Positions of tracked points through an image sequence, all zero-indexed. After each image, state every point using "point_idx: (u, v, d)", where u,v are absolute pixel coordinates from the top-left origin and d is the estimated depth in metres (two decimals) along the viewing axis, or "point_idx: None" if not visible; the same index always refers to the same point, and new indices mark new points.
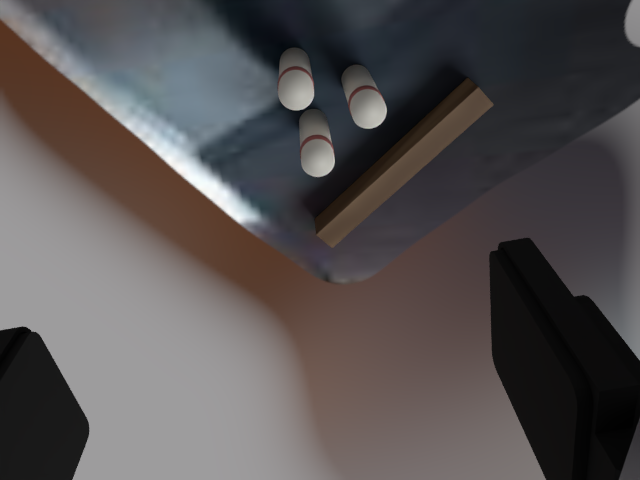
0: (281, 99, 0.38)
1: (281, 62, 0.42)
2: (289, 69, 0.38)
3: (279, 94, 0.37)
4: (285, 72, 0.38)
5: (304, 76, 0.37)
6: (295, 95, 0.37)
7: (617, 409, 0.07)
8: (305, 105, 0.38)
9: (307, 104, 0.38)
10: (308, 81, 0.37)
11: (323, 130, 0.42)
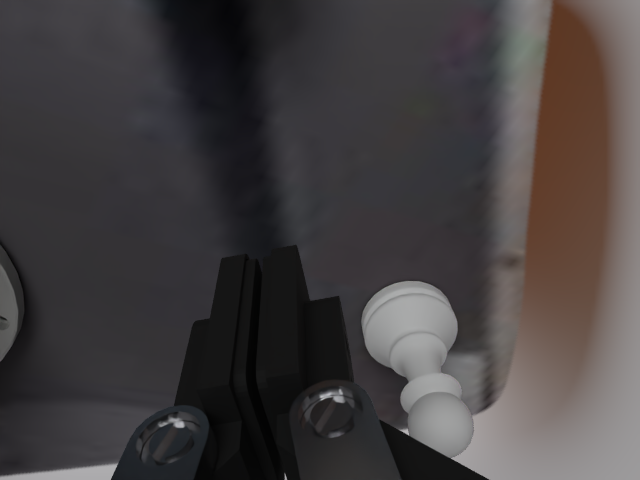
0: None
1: None
2: None
3: None
4: None
5: None
6: None
7: (288, 393, 0.09)
8: None
9: None
10: None
11: None
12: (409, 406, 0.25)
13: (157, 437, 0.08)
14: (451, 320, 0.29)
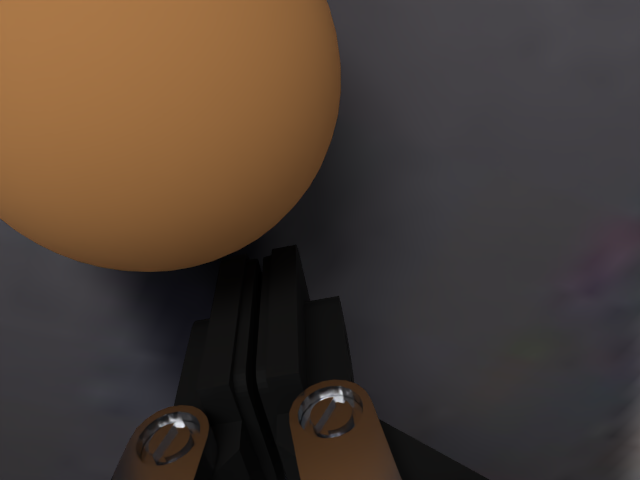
0: None
1: None
2: None
3: None
4: None
5: None
6: None
7: (288, 393, 0.09)
8: None
9: None
10: None
11: None
12: None
13: (157, 437, 0.08)
14: None
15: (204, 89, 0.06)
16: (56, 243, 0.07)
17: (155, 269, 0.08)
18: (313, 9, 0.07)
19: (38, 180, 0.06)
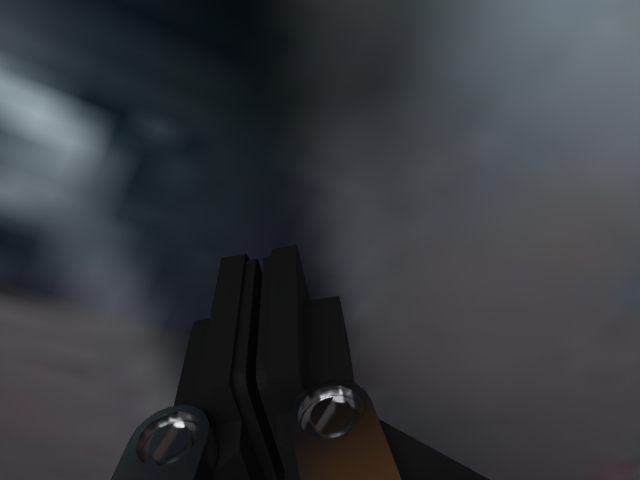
0: None
1: None
2: None
3: None
4: None
5: None
6: None
7: (288, 393, 0.09)
8: None
9: None
10: None
11: None
12: None
13: (157, 437, 0.08)
14: None
15: None
16: None
17: None
18: None
19: None
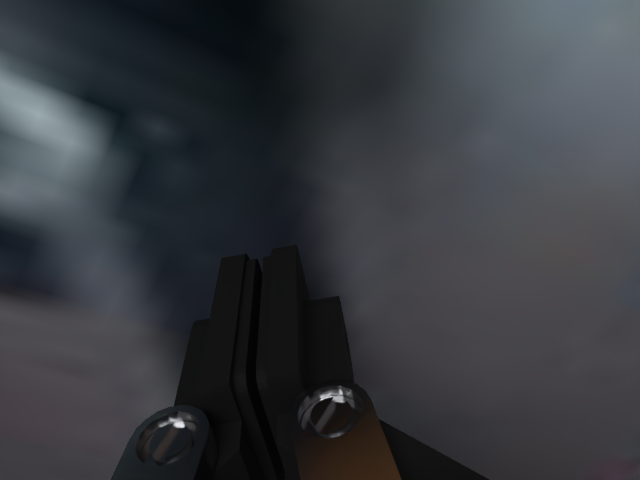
0: None
1: None
2: None
3: None
4: None
5: None
6: None
7: (288, 393, 0.09)
8: None
9: None
10: None
11: None
12: None
13: (157, 437, 0.08)
14: None
15: None
16: None
17: None
18: None
19: None
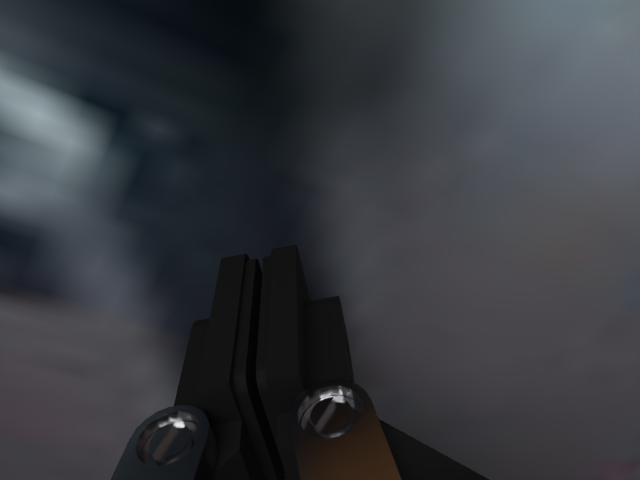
0: None
1: None
2: None
3: None
4: None
5: None
6: None
7: (288, 393, 0.09)
8: None
9: None
10: None
11: None
12: None
13: (157, 437, 0.08)
14: None
15: None
16: None
17: None
18: None
19: None
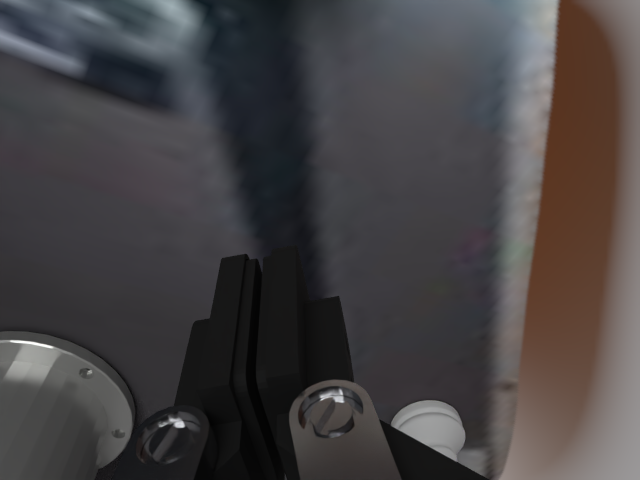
0: None
1: None
2: None
3: None
4: None
5: None
6: None
7: (288, 393, 0.09)
8: None
9: None
10: None
11: None
12: None
13: (157, 437, 0.08)
14: (460, 433, 0.38)
15: None
16: None
17: None
18: None
19: None
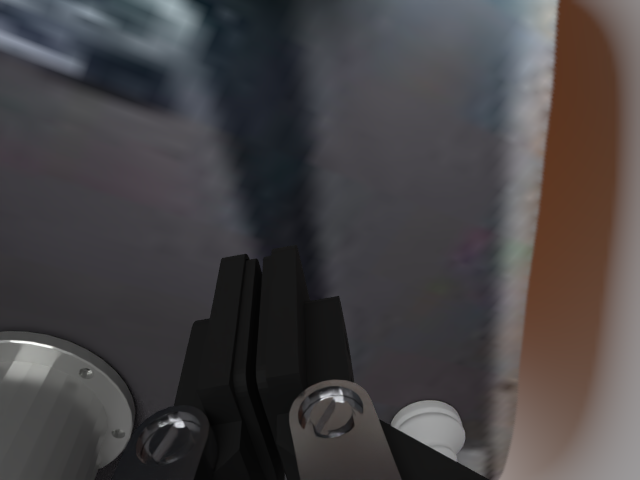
0: None
1: None
2: None
3: None
4: None
5: None
6: None
7: (288, 393, 0.09)
8: None
9: None
10: None
11: None
12: None
13: (157, 437, 0.08)
14: (460, 433, 0.38)
15: None
16: None
17: None
18: None
19: None
